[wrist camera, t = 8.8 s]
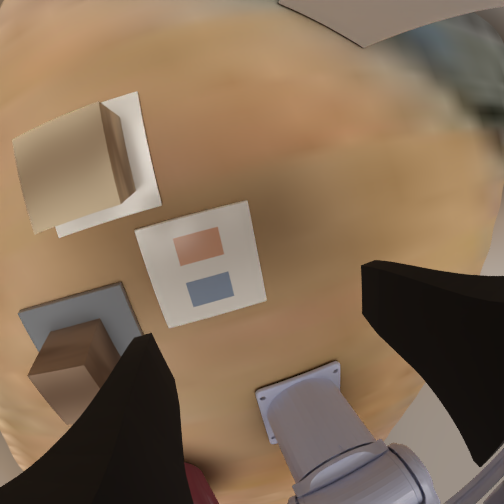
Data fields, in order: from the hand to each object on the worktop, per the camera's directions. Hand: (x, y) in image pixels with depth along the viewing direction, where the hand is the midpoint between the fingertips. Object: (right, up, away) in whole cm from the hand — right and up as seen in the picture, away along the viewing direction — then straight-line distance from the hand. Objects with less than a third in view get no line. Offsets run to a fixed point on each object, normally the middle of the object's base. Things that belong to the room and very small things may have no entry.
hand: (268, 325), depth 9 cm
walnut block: (-12, -5, +9) cm, 16 cm away
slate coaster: (-12, -5, +9) cm, 16 cm away
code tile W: (-4, +1, +9) cm, 10 cm away
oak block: (-10, +7, +5) cm, 13 cm away
